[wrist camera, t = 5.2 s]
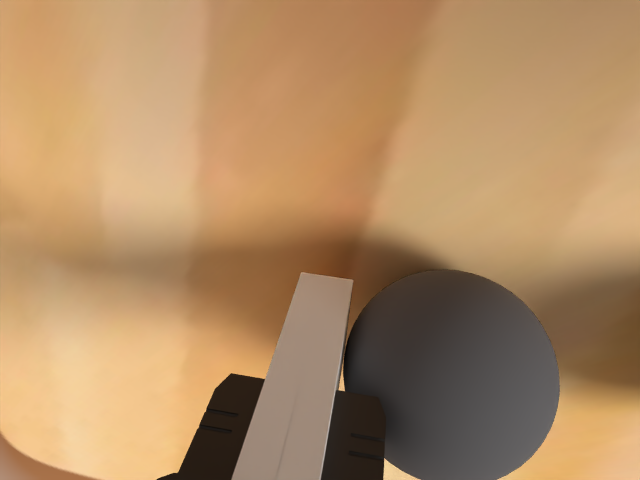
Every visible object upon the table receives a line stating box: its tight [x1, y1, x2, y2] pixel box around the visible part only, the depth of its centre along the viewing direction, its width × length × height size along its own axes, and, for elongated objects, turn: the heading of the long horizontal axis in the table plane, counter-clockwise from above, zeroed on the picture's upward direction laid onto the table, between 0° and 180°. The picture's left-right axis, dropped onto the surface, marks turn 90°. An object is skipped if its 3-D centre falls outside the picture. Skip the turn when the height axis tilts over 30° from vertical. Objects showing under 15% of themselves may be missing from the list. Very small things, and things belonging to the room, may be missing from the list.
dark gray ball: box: [343, 270, 560, 480], centre depth 13 cm, size 6×6×6 cm
